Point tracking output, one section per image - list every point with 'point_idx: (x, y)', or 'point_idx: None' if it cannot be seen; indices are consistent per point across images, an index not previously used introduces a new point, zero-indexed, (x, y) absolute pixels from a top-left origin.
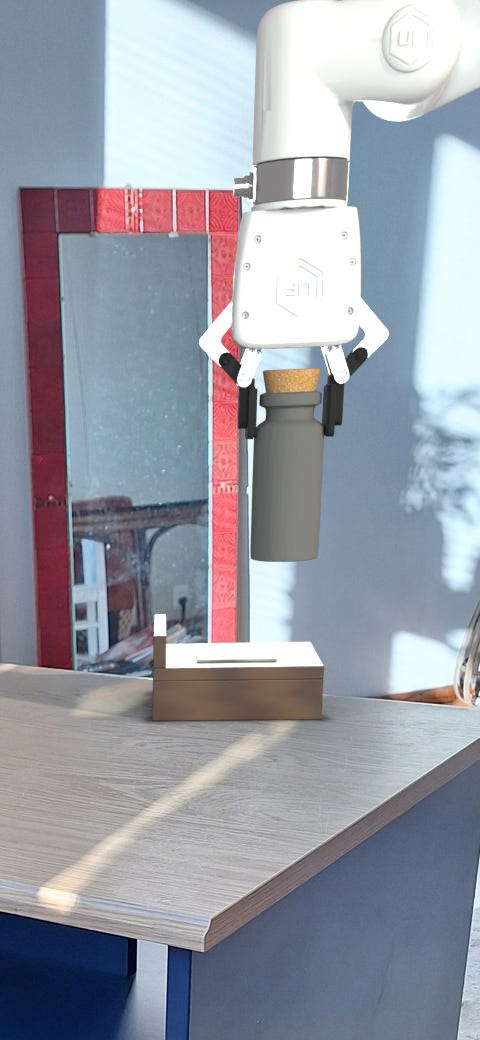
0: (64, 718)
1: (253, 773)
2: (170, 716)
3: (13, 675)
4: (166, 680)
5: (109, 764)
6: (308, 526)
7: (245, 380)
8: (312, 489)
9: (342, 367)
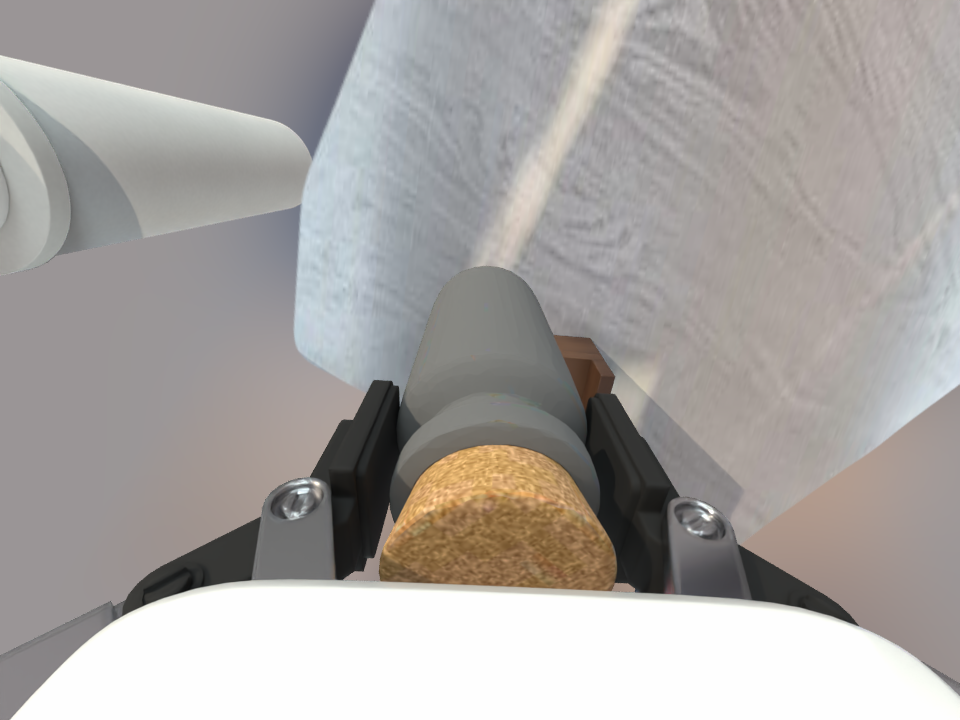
0: (669, 360)
1: (537, 78)
2: (574, 338)
3: None
4: (587, 353)
5: (679, 145)
6: (453, 288)
7: (691, 518)
8: (443, 312)
9: (282, 524)
